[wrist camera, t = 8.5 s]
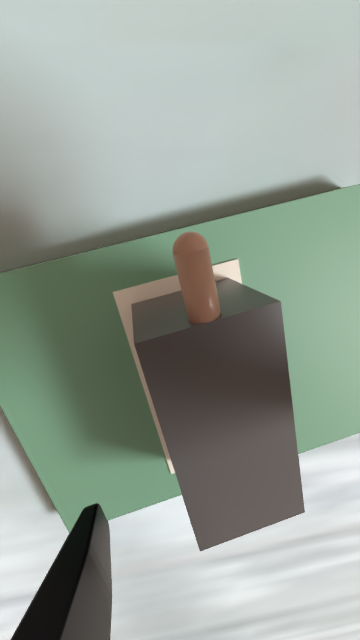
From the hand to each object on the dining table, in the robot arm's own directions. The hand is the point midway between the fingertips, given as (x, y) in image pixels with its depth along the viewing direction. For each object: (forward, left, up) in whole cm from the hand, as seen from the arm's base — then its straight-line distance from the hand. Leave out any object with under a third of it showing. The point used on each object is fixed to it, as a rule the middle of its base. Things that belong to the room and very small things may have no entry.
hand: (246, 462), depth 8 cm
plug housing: (0, +1, -5) cm, 6 cm away
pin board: (0, 0, -7) cm, 7 cm away
